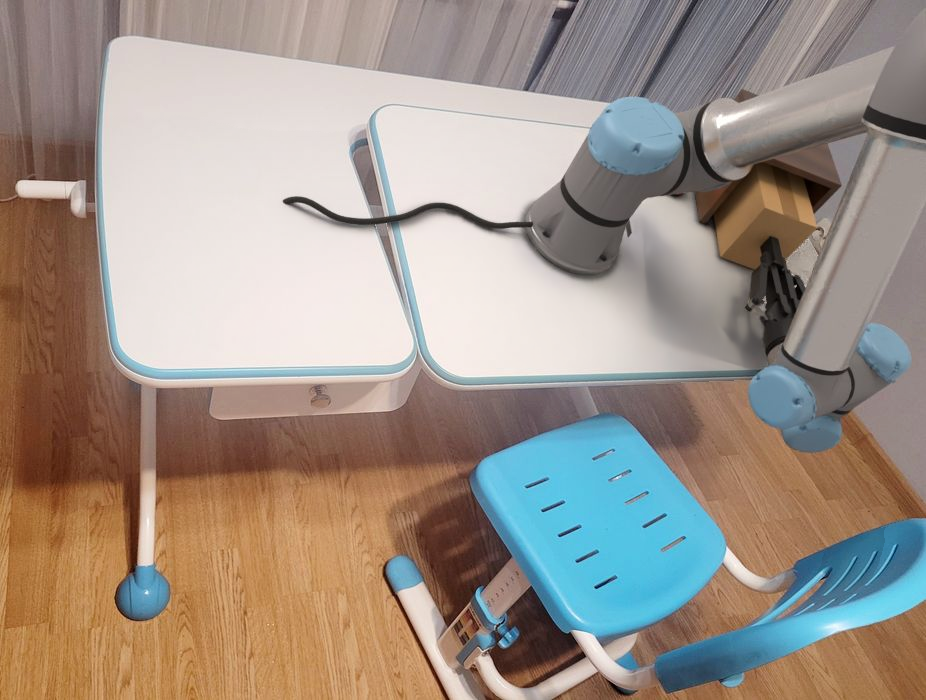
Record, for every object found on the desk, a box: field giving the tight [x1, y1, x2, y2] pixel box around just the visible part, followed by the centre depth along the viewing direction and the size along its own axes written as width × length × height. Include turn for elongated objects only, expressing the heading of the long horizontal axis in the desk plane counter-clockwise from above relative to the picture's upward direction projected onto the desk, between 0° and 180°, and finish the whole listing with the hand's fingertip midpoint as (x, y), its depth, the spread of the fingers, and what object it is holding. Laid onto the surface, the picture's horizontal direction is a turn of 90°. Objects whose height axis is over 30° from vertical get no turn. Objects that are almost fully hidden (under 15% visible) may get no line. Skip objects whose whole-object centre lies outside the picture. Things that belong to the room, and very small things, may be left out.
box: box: [713, 162, 819, 271], centre depth 131 cm, size 14×10×12 cm
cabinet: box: [694, 88, 843, 225], centre depth 135 cm, size 18×16×16 cm
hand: (769, 242), depth 126 cm, fingers closed
